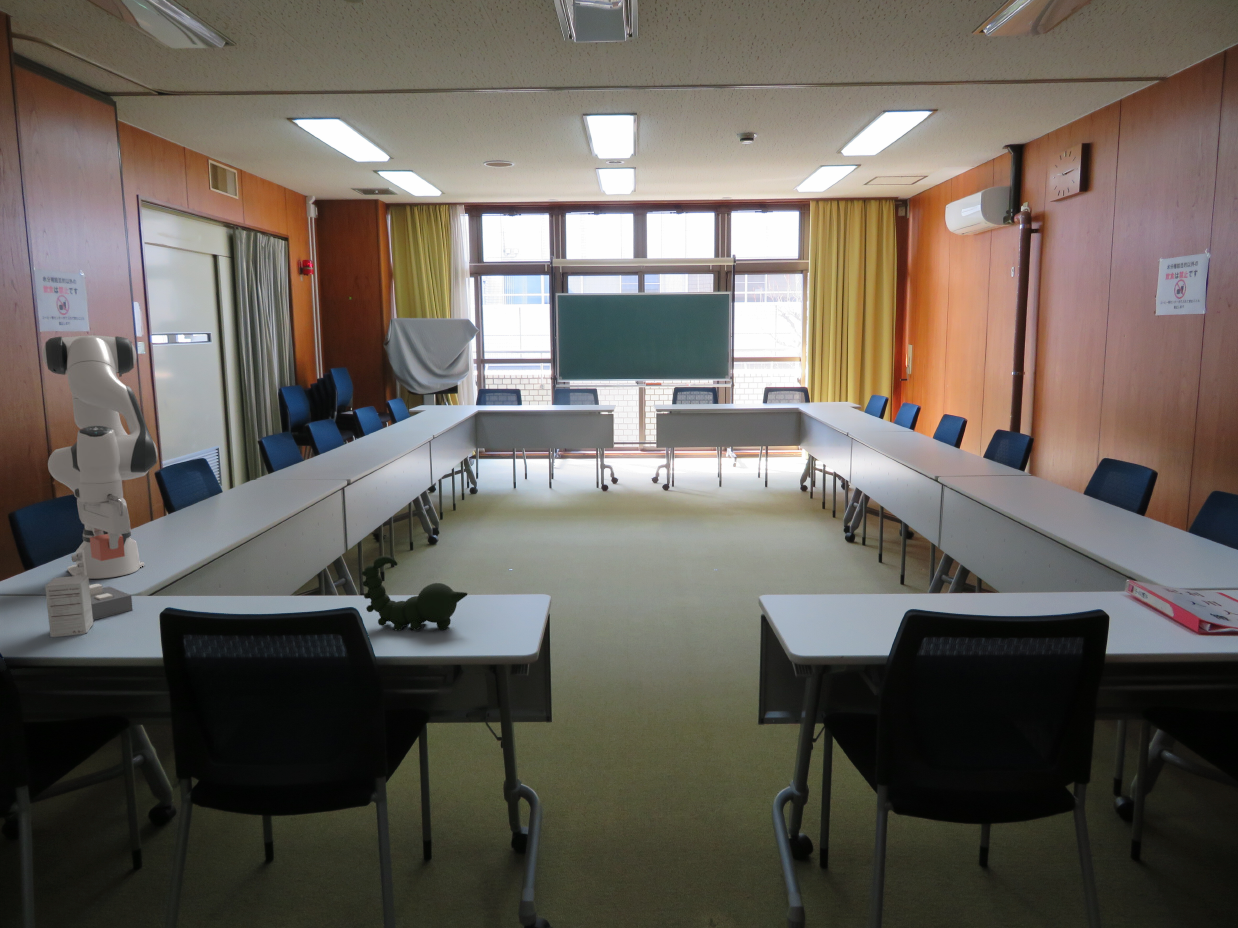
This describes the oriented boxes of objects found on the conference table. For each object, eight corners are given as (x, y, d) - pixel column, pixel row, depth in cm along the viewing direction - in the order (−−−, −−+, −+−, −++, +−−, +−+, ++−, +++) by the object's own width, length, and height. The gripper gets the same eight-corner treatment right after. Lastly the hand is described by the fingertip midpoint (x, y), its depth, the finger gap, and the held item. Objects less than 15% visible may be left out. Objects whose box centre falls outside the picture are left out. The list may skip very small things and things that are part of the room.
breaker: (85, 601, 207) (84, 586, 207) (98, 598, 210) (97, 583, 209) (90, 603, 206) (89, 588, 205) (103, 600, 208) (102, 585, 207)
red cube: (91, 557, 200) (89, 537, 199) (115, 552, 204) (113, 532, 203) (101, 560, 197) (99, 540, 196) (124, 556, 201) (122, 536, 200)
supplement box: (58, 627, 193) (53, 577, 192) (94, 624, 196) (89, 574, 194) (49, 637, 187) (43, 585, 185) (86, 633, 189) (81, 582, 187)
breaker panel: (68, 610, 206) (66, 594, 205) (110, 600, 214) (109, 585, 213) (89, 620, 198) (87, 603, 198) (132, 610, 206) (131, 593, 206)
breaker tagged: (96, 611, 204) (94, 595, 203) (109, 607, 206) (107, 593, 206) (101, 613, 202) (99, 598, 202) (114, 610, 205) (112, 595, 204)
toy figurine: (364, 639, 190) (465, 633, 188) (353, 562, 188) (456, 555, 185) (379, 625, 200) (476, 620, 197) (369, 552, 197) (467, 545, 194)
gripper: (134, 495, 194) (139, 550, 196) (98, 485, 206) (103, 537, 208) (106, 499, 189) (111, 555, 191) (70, 489, 201) (76, 542, 203)
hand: (107, 546), depth 200 cm, fingers closed on red cube, 5 cm apart
